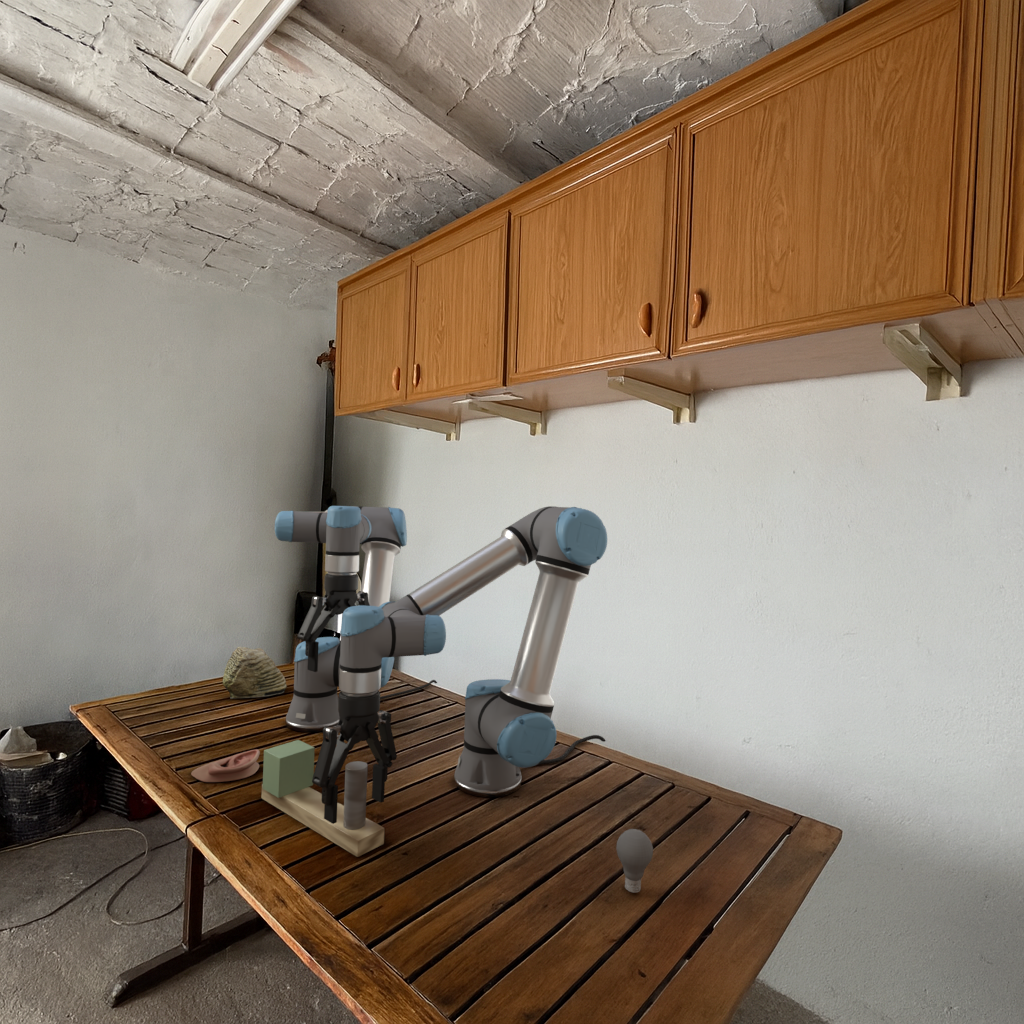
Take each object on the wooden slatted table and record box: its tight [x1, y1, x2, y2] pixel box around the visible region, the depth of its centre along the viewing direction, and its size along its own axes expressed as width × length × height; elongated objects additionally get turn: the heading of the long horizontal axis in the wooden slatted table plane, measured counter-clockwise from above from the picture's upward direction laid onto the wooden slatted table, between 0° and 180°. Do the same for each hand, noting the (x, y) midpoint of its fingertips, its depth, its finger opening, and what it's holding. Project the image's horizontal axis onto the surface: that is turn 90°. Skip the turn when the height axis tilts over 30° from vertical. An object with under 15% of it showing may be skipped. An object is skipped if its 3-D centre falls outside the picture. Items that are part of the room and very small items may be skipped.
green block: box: [262, 739, 315, 798], centre depth 131 cm, size 8×6×8 cm
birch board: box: [261, 760, 385, 858], centre depth 124 cm, size 6×32×14 cm, turn 51°
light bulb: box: [615, 828, 654, 894], centre depth 106 cm, size 6×6×10 cm
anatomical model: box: [190, 748, 261, 783], centre depth 143 cm, size 13×4×12 cm
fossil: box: [222, 646, 288, 699], centre depth 198 cm, size 9×18×15 cm, turn 132°
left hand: (338, 665), depth 146 cm, fingers open, 13 cm apart
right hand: (354, 809), depth 117 cm, fingers open, 10 cm apart
